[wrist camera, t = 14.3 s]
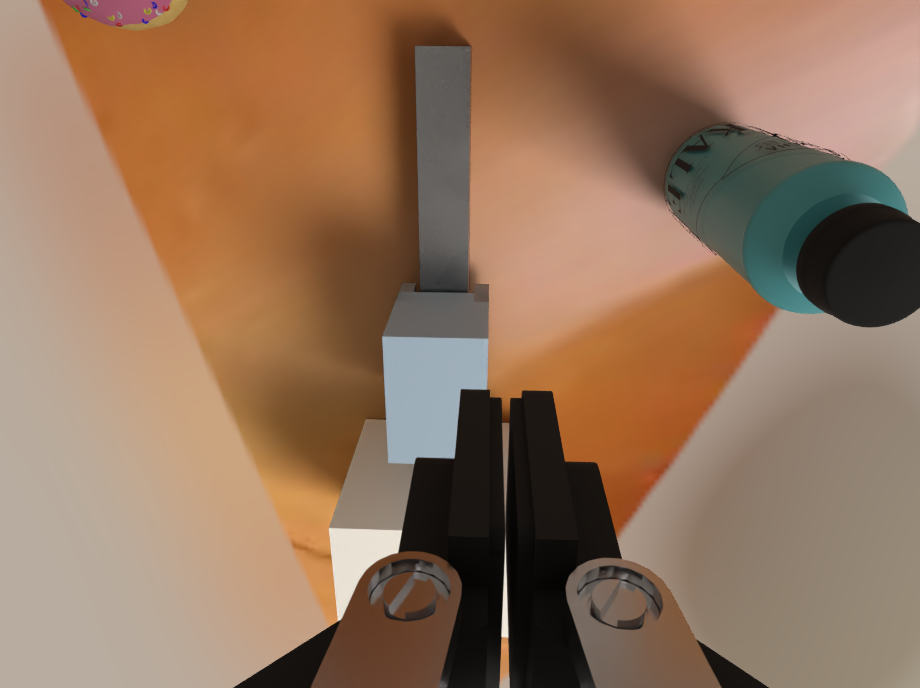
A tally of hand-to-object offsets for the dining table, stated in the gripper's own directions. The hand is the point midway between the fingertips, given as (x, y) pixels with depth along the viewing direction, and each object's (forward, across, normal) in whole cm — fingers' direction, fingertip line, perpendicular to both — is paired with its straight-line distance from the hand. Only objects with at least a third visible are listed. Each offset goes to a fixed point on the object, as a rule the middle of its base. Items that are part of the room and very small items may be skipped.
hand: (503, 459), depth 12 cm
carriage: (+30, +3, +11) cm, 32 cm away
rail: (+31, +3, +6) cm, 32 cm away
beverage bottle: (+31, -13, 0) cm, 34 cm away
